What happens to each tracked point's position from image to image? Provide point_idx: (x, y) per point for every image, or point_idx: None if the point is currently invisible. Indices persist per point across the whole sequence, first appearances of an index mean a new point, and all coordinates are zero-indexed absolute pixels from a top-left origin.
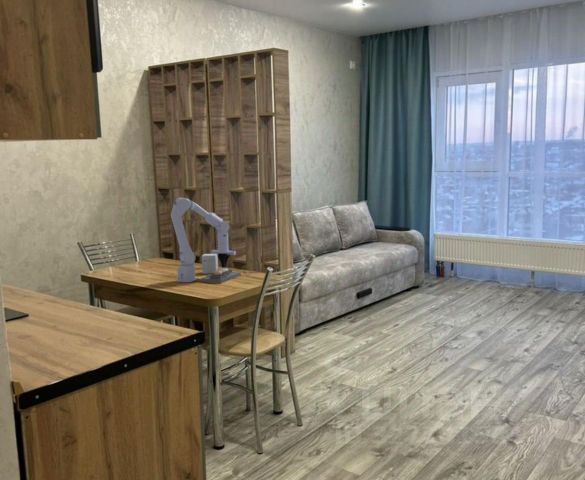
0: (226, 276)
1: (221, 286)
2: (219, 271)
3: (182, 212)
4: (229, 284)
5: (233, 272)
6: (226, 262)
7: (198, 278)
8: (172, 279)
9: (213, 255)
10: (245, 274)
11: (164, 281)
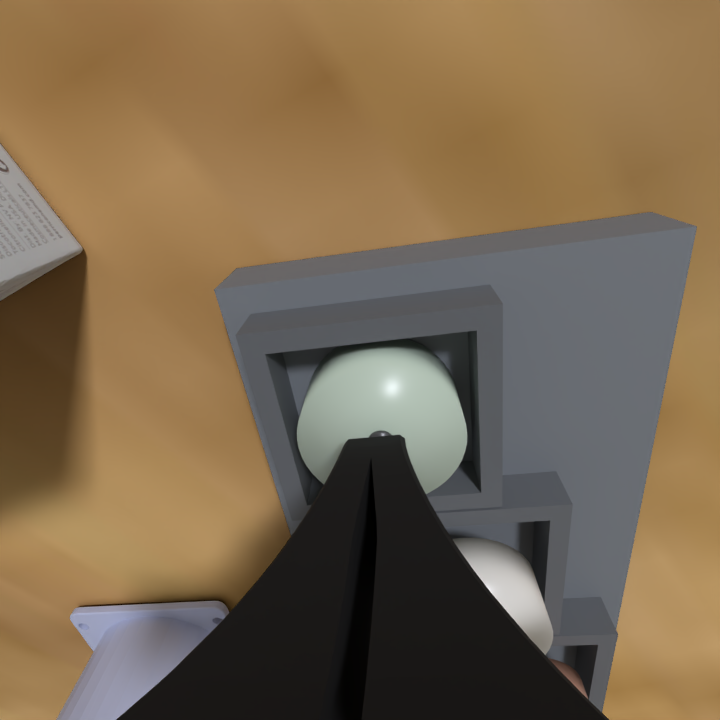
0: (603, 605)
1: (648, 709)
2: None
3: None
4: (698, 652)
5: (547, 322)
6: (428, 516)
7: (223, 611)
8: (14, 657)
9: None
10: (711, 26)
11: (46, 710)
